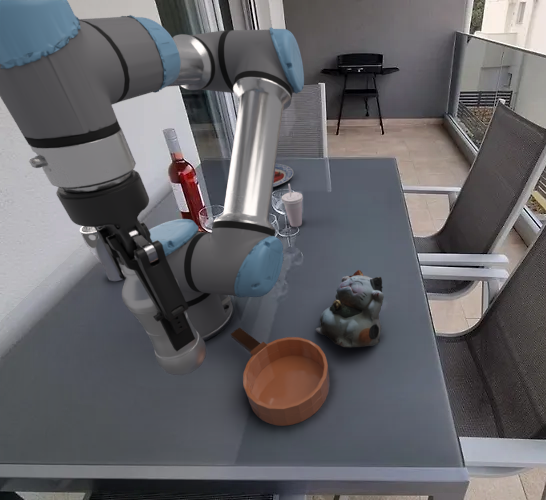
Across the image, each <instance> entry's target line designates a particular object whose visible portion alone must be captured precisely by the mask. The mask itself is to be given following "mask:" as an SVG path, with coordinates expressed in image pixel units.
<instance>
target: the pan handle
mask: <svg viewBox="0 0 546 500" xmlns="http://www.w3.org/2000/svg"><path fill="white" fill-rule="evenodd" d="M230 337H231V339H232V340H234V341H235V342H236V343H237V344H238V345H240V346H241V347H242V348H244V349H245V350H246V351H247V352H248V353H249V355H250V358H251V357H252V356H253V355H256V352H257V353H258V352H259V351H261V350H262V349H261V348H264V347H265V345H266V346H267V344H268V343H266V342H265V341H262V342H260V341H259V340H257V339H256V338H255V337H253V336H252V335H250V333H248V332H246V331H245V330H244V329H242V327H238V328H237V329H235V330H234V331H233V332H231V333H230ZM258 350H259V351H258Z"/></svg>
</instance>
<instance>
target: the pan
mask: <svg viewBox="0 0 546 500" xmlns="http://www.w3.org/2000/svg"><path fill="white" fill-rule="evenodd" d="M266 344H267V346H266V345H265V347H264V348H261V349H262V350H261V351H259V350H258V351H259V352H258V353H257V352H256V355H253V356H252V357H251V356H250V358H249V360H248V361H247V363H246V365H245V368H244V371H243V373H242V386H243V389H244V391H245V395H246V397H247V401H248V402H249V405H250V408H251V410H252V412H253V413H254V414H255V415H256V416H257V417H258V418H259V419H260V420H262V421H263V422H265V423H267V424H270V425H274V426H278V427H279V426H280V427H283V426H285V427H286V426H292V425H296V424H299V423H302V422H304V421H306V420H308V419H310V418H311V417H312V416H313V415H314V414H316V413H317V412H319V410H320V409H321V408H322V406H323V405H324V403H325V402H326V399H327V397H328V395H329V391H330V382H331V381H330V372H329V365H328V359H327V357H326V354H325V353H324V351H323V350H322V348H321V347H320V346H319V345H318V344H317V343H315V342H313V340H310V339H306V338H304V337H300V336H296V337H295V336H287V337H283V338H277V339H275V340H272V341H271V342H268V343H266Z"/></svg>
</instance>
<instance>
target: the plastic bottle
mask: <svg viewBox="0 0 546 500" xmlns="http://www.w3.org/2000/svg"><path fill="white" fill-rule="evenodd" d="M134 260H136V259H135V258H134V259H132V260H130V261H134ZM118 262H119V265H120V267H121V269H122V273H123V275H124V276H125V277H127V278H126V280H124V281H123V282H124V283H123V285H122V289H121V298H122V302H123V303H124V305H125V306H126V308H127V309H128V310H129V311H130V313H131V314H132V315H133V316H134V317H135V318H136V319H137V321H138V322H139V323H140V325H141V326H142V328H143V330H145V332H146V334H147V336H148V337H149V340H150V343H151V345H152V347H153V350H154V355H155V360H156V363H157V365H158V366H159V367H160V368H161V369H162V370H163V372H165V373H167V374H168V375H172V376H186V375H188V374H192V373H193V372H194V371H196V370H198V369H199V367H200V366H201V365H202V364H203V362H204V361H205V359H206V356H207V347H206V341H204V340H203V339H202V337H201V336H200V334H199V333H198V332H197V331H196V330H195V328H194V326H193V325H192V323H191V321H190V320H189V318H188V315H187V313H186V311H184V314H185V316H186V319H187V321H188V323H189V325H190V328H191V330H192V332H193V335H194V337H195V339H194V340H193V341H192V342H190V343H189V344H187V345H186V346H184V347H183V348H181V349H180V350H178V351H176V350H175V349H174V348H173V346H172V344H171V342H170V340H169V338H168V336H167V334H166V332H165V330H164V328H163V326H162V324H161V322H160V321H158V322H157V321H156V320H155V319H154V317H153V316H155V315H157V313H159V312H158V310H157V308H156V307H155V305H154V303H153V302H152V300H151V298H150V297H149V295H148V293H147V292H146V290H145V288H144V287H143V285H142V283H141V282H140V280H139V278H138V277H137V275H136V273H135V271H134V270H131V269H128V268H127V267H126V266H125V265H124V263H123V261H122V260H121V258H119V260H118ZM175 279H176V278H175ZM176 281H177V279H176ZM177 283H178V281H177ZM178 286H179V284H178ZM179 288H180V287H179Z"/></svg>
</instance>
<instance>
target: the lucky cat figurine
mask: <svg viewBox="0 0 546 500" xmlns="http://www.w3.org/2000/svg"><path fill="white" fill-rule="evenodd" d="M334 297H335V300H334V301H333V303H332V305H331V306H329V307H327V308H326V309H325V310H323V312H322V313H321V314H320V317H319V322H320V325H319V327H316V328H315V330H316V332H317V333H318V334H319V335H323V336H325V337H326V338H329V340H330V341H332V342H333V343H334V344H335V345H337V346H339V347H340V346H341V347H342V348H361V347H362V348H363V347H372V346H375V345H378V344H379V343H380V339H381V332H382V329H383V328H382V324H381V320H380V312H381V310H382V306H383V302H384V299H385V298H384V297H385V295H384V292H383V279H382V276H376V277H370V276H368V275H364V273H363V271H361V270H360V269H357V270H356V271H355V272H354V273H353V275H352V274H351V275H345V276H341V283H340V284H339V285H338V286H337V288H336V293H335V296H334Z"/></svg>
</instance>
